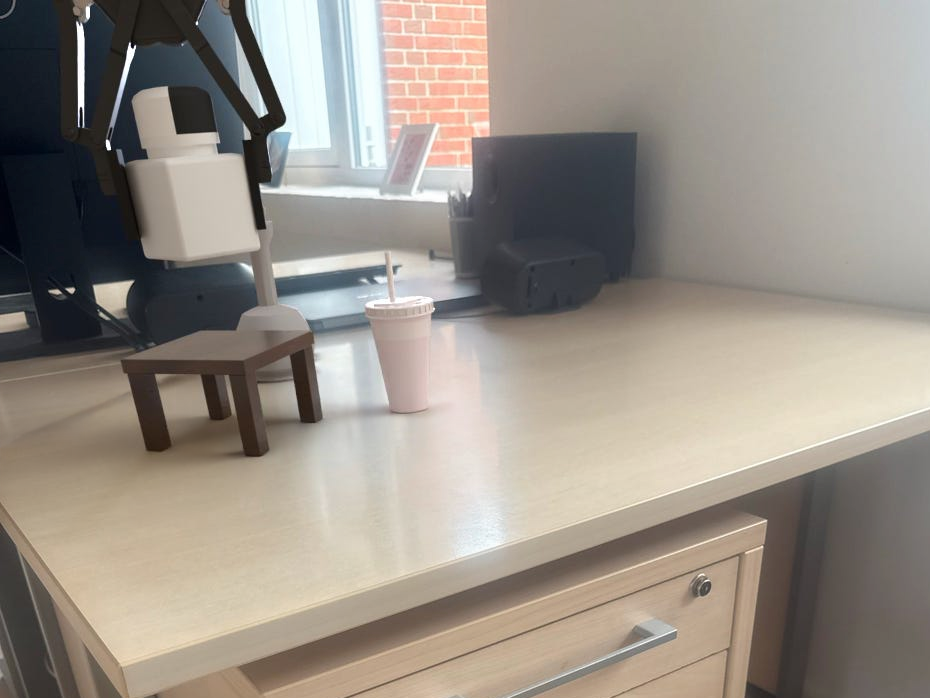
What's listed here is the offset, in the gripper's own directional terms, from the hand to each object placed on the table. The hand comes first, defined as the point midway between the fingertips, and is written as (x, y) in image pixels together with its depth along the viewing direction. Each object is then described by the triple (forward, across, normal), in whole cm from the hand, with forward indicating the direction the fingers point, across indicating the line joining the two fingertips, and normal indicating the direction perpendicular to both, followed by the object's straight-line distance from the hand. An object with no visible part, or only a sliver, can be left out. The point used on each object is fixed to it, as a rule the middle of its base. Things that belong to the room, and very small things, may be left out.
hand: (198, 234), depth 75 cm
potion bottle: (+17, +4, +23) cm, 29 cm away
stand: (+17, 0, 0) cm, 17 cm away
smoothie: (+17, +16, +2) cm, 24 cm away
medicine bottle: (+2, 0, 0) cm, 2 cm away
